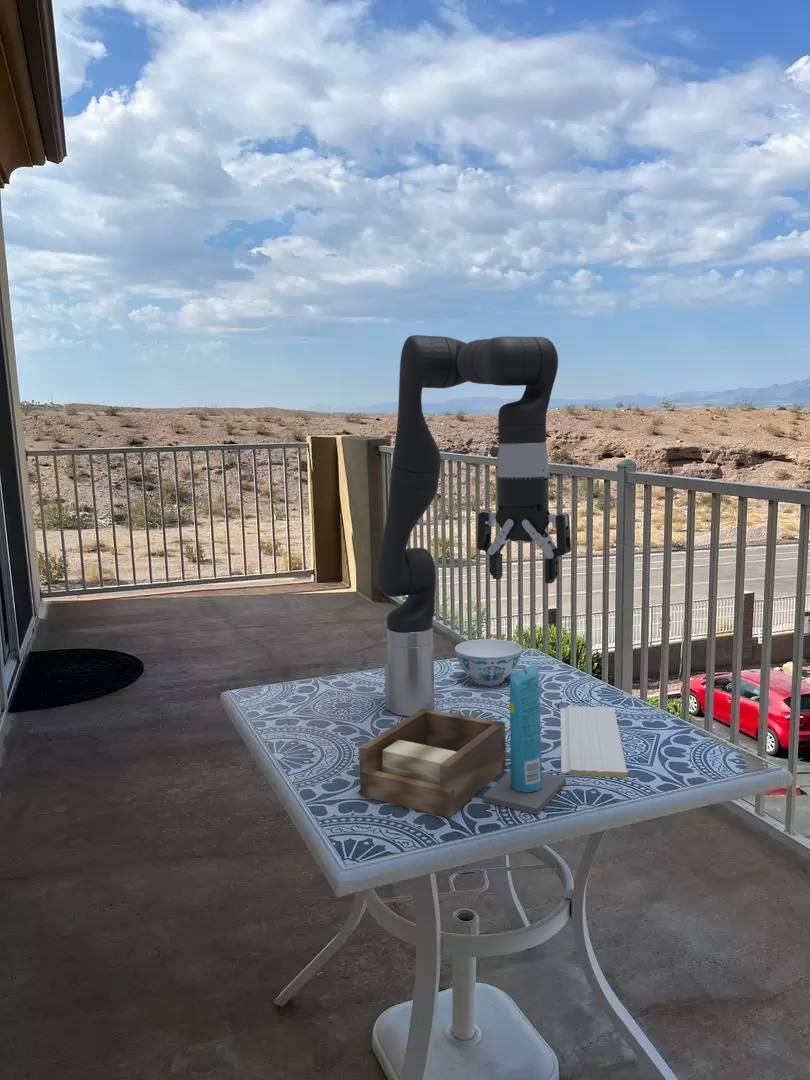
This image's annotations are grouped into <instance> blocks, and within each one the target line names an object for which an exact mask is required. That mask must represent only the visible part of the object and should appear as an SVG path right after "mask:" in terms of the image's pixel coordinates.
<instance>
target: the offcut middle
mask: <svg viewBox="0 0 810 1080" xmlns="http://www.w3.org/2000/svg"><path fill="white" fill-rule="evenodd" d="M382 772H384V773H388V774H393V775H397V776H402V777H406V778H410V779H415V780H419V781H423V782H428V783H432V784H436V785H440V779H439V778H435V777H431V776H427V775H422V774H418V773H414V772H409V771H405V770H400V769H396V768H392V767H387V766H383V765H382Z"/></svg>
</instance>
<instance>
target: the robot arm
mask: <svg viewBox="0 0 810 1080" xmlns="http://www.w3.org/2000/svg"><path fill="white" fill-rule="evenodd" d="M401 349H402V350H401V354H400V361H399V380H398V381H399V383H398V410H397V424H396V433H395V442H394V448H393V453H392V454H393V455H392V462H391V471H390V472H391V473H390V480H389V481H390V482H389V491H388V492H389V494H388V502H387V509H386V510H387V511H386V512H387V513H386V517H385V519H386V520H385V524H384V529H383V535H382V539H381V545H380V549H379V554H378V558H377V559H378V560H377V566H376V579H377V584H378V588H379V590H380V592H381V593H382V595H384V596H386V597H388V598H389V597H391V598H392V597H393V598H394V597H395V598H396V597H402V596H407V598H406V600H404V602H403V603H402V604H401V605H400V606H399V607H396V608H395V609H393V610H391V611H390V612H389V613H388V615H387V617H386V628H387V631H386V633H387V655H388V656H387V658H388V662H387V663H385V664H384V694H385V695H384V698H385V701H384V702H385V710H387V711H389V712H391V713H393V714H395V715H399V716H401V717H402V716H405V717H409V716H411V715H412V714H414V713H416V712H417V711H419V710H420V709H422V708H423V709H429V710H436V709H435V701H436V700H435V698H436V697H435V672H434V671H435V669H434V629H433V627H434V623H433V622H434V621H433V620H434V616H435V611H436V582H437V581H436V579H437V578H436V575H437V574H436V564H435V561H434V560H435V559H434V557H433V555H432V553H431V552H430V550H428V549H426V548H423V547H413V548H412V547H411V548H408V547H407V546H408V542H409V539H410V536H411V534H412V532H413V529H414V528H415V526H416V525H417V523H418V522H419V520H420V519H421V518H422V516H423V515H424V514H425V512H426V511H427V509H428V508H429V506H431V504H432V502H433V500H434V499H435V497H436V494H437V492H438V487H439V481H440V474H441V467H442V465H441V464H442V458H441V457H442V456H441V453H440V450H439V448H438V445H437V443H436V441H435V439H434V437H433V434H432V433H431V431H430V428H429V427H428V425H427V422H426V420H425V416H424V413H423V406H422V397H423V396H422V393H423V388H424V389H449V388H452V387H456V386H458V385H462V384H465V383H468V382H470V383H471V384H478V385H492V386H503V387H510V386H512V387H513V386H515V387H518V386H525V389H524V391H523V395H522V397H521V398H520V399H519V400H517V401H512V402H508V403H505V404H503V405H502V406H500V408H499V410H498V416H497V417H498V418H497V420H498V421H497V423H498V424H497V425H498V426H497V427H498V429H497V430H498V431H497V432H498V434H497V435H498V436H497V438H498V441H497V442H498V449H497V457H496V458H497V459H496V470H497V473H496V474H497V475H496V478H497V479H496V481H497V484H496V485H497V487H496V488H497V489H496V490H497V491H496V492H497V512H492V511H491V510H484V511H480V512H479V513H478V517H477V519H478V520H477V541H476V542H477V543H476V544H477V546H476V547H477V550H479V551H482V552H486V553H487V554H488V557H489V558H488V564H489V565H488V566H489V574H490V576H492V579H493V580H499V579H502V578H503V553H501V552H502V550H503V549H504V548H505V547H506V545H507V544H508V543H509V542H518V541H522V542H524V543H532V542H534V544H536V546H537V547H538V548H540V549H541V551H542V552H543V554H544V555H545V557H546V558H545V559H544V583H545V584H549V585H551V584H552V583H554V582H555V580H557V579H558V576H559V558H560V557H561V556H564V555H567V554H569V553H571V551H572V542H571V540H572V539H571V525H570V514H568V513H566V512H564V513H560V514H551V513H550V511H549V509H548V508H549V470H550V468H549V467H550V466H549V458H548V450H547V449H548V448H547V412H548V410H549V409H548V408H549V404H550V400H551V395H552V391H553V388H554V384H555V380H556V376H557V373H558V368H559V356H558V351H557V349H556V346H555V345H554V343H553V342H552V341H551V340H550V338H549V339H548V338H547V337H545V336H496V337H492V338H483V339H482V338H481V339H476V340H471V341H470V342H468V343H467V342H464V341H461V340H459V339H456V338H452V337H449V336H443V335H442V336H440V335H439V336H438V335H437V336H435V335H424V334H423V335H422V334H421V335H420V334H417V335H416V334H415V335H413V334H412V335H410V336H408V337H407V338H406V340H405V341H404V343H403V346H402V348H401ZM495 522H497V525H498V526H499V528H501V529H500V530H499V532H498V533H497V535H496V536H495V537H494V540H493V541H492V530H493V529H492V526H493V525H495ZM550 523H551V524H552V527H553V529H555V531H556V544H555V543H554V541H553V537H552V536H551V534H550V533H549V531H547V529H546V528H547V527H548V526H549V525H550Z"/></svg>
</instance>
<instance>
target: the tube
mask: <svg viewBox="0 0 810 1080" xmlns="http://www.w3.org/2000/svg"><path fill="white" fill-rule="evenodd" d="M539 675H540V674H539V665H538V663H537V662H535V663H534V664H531V665H529V666H527V667H525V668H522V669H520V670H517V671H515V672H514V671H513V672H512V673H511V674H509V721H510V722H509V723H510V724H509V727H510V729H509V730H510V734H509V736H510V739H509V740H510V770H511V787H512V788H513V789H514V790H516V791H520V792H533V791H537V790H539V789H540V788H541V787H542V773H543V771H542V741H541V740H542V737H541V736H542V735H541V734H542V733H541V729H542V728H541V706H540V705H541V697H540V679H539V678H540V677H539Z"/></svg>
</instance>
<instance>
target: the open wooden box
mask: <svg viewBox="0 0 810 1080" xmlns="http://www.w3.org/2000/svg"><path fill="white" fill-rule="evenodd" d="M398 740H403V741H408V742H413V743H417V744H422V745H427V746H432V747H436V748H441V749H446V750H451V751H455V752H456V753H455V754H453V755H452V756H451V757H449V758H448V759H447V760H446V761H444V762H443V763H442V764H440V785H436V784H432V783H428V782H423V781H419V780H415V779H410V778H406V777H402V776H397V775H393V774H388V773H384V772H382V765H383V758H382V750H384V749H385V748H387V747H388V746H390V745H391V744H393V743H395V742H396V741H398ZM358 761H359V766H358V767H359V784H360V785H359V789H360V790H359V791H360V796H361V797H365V798H369V799H373V800H376V801H381V802H384V803H389V804H393V805H396V806H401V807H403V808H407V809H408V808H409V809H412V810H415V811H416V810H417V811H420V812H424V813H428V814H431V815H436V816H440V817H444V818H449V819H450V818H452V817H453V816H454V815H455V814H456V813H458V811H460V810H461V809H462V808H464V806H465V805H466V804H468V802H469V800H470V799H471V800H472V799H473V798H474V797H475V796H477V794H479V793H480V792H481V791H482V790H483V789H485V788H486V786H488V785H489V784H490V783H491V782H492V781H493V780H494V779H496V778H497V777H498V776H499V775H500V774H502V773H503V771H505V768H506V767H507V766H506V765H507V763H506V722H501V721H497V720H491V719H490V720H489V719H484V718H481V717H474V716H473V717H472V716H467V715H463V714H456V713H451V712H445V711H439V710H436V709H434V710H429V709H423V708H422V709H420V710H419V711H417V712H416V713H414V714H412V715H411V716H406V717H405V718H403V720H401V721H399V722H398V723H395V724H394V725H392V726H391V727H390V728H388V729H387V730H385V731H383V732H382V733H379V734H378V735H377V736H375V737H373V738H371V739H370V740H368V741H367V742H366V743H364V744H362V745H360V746H359V747H358ZM498 774H499V775H498ZM497 775H498V776H497ZM496 776H497V777H496ZM487 784H488V785H487ZM482 788H483V789H482ZM480 790H481V791H480ZM479 791H480V792H479ZM478 792H479V793H478ZM473 796H474V797H473ZM471 800H470V801H471ZM460 808H461V809H460Z"/></svg>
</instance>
